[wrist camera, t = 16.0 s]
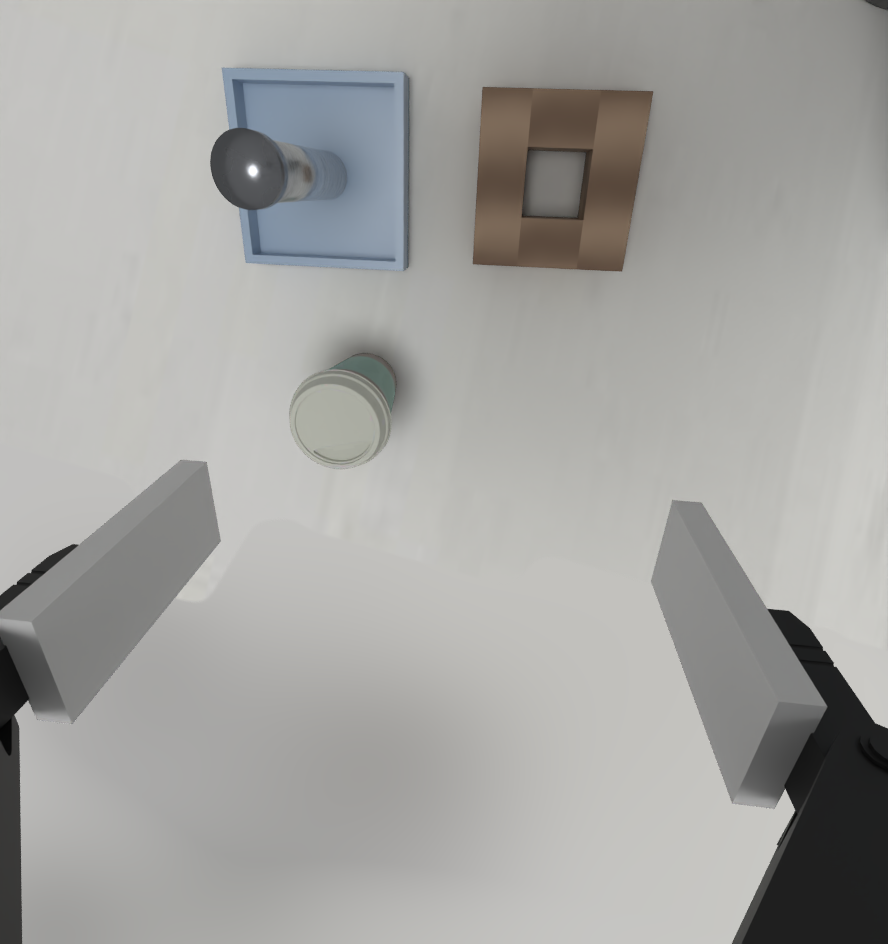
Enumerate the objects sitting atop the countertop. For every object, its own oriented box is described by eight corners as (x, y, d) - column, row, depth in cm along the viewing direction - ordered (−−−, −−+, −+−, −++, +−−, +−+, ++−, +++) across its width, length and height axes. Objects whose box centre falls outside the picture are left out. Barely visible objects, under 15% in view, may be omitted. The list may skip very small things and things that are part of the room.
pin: (299, 146, 46) (204, 126, 31) (349, 147, 45) (277, 128, 31) (303, 202, 48) (216, 208, 33) (351, 204, 47) (284, 211, 33)
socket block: (484, 95, 43) (482, 87, 40) (641, 99, 42) (653, 91, 39) (475, 258, 49) (472, 264, 45) (613, 265, 48) (621, 271, 44)
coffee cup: (316, 403, 57) (272, 453, 46) (338, 325, 53) (296, 360, 42) (394, 433, 57) (369, 489, 47) (422, 358, 53) (400, 401, 43)
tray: (236, 73, 44) (221, 67, 42) (408, 77, 43) (403, 72, 41) (257, 259, 51) (245, 262, 49) (408, 267, 50) (403, 270, 47)
